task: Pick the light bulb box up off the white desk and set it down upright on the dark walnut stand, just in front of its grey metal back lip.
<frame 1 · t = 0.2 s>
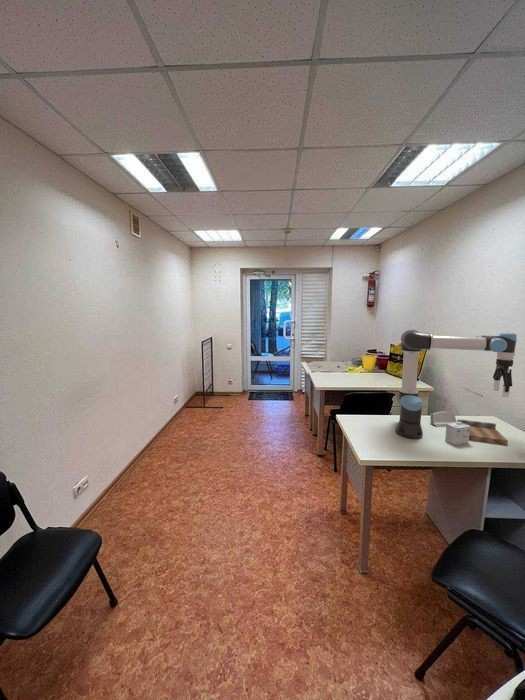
hand: (500, 393, 163), 28 cm above the table, fingers open, 13 cm apart
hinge: (443, 424, 186), on the table
walnut stand: (480, 435, 169), on the table
light bulb box: (456, 442, 161), on the table
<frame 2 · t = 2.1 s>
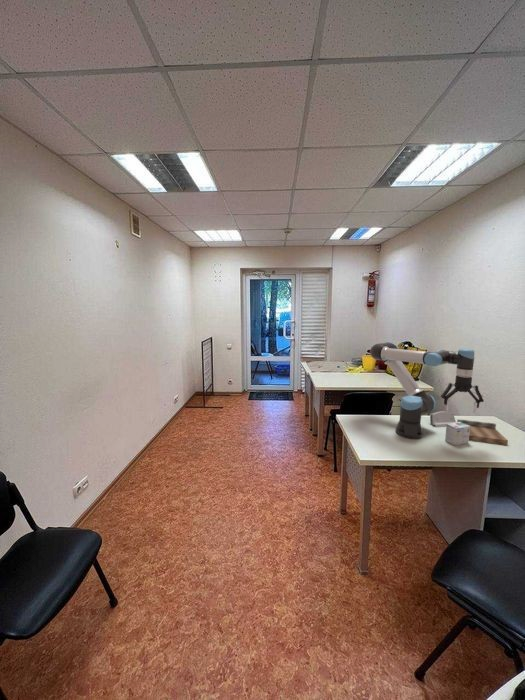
hand: (460, 411, 158), 19 cm above the table, fingers open, 13 cm apart
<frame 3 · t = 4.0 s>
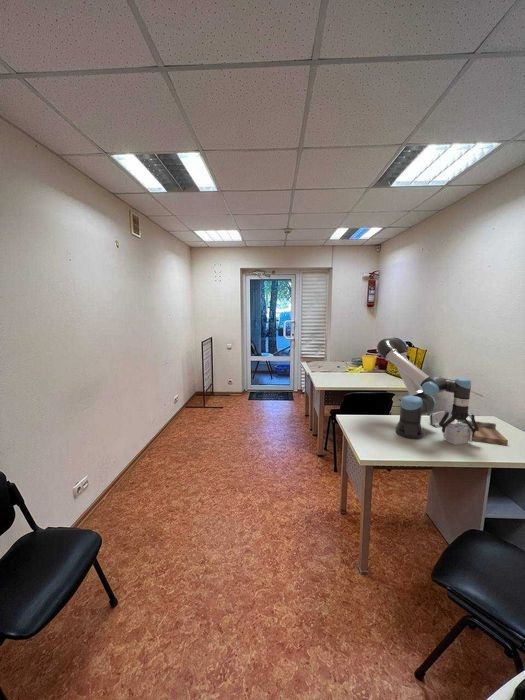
hand: (456, 439, 161), 1 cm above the table, fingers closed on light bulb box, 12 cm apart
light bulb box: (456, 442, 161), on the table, touching gripper
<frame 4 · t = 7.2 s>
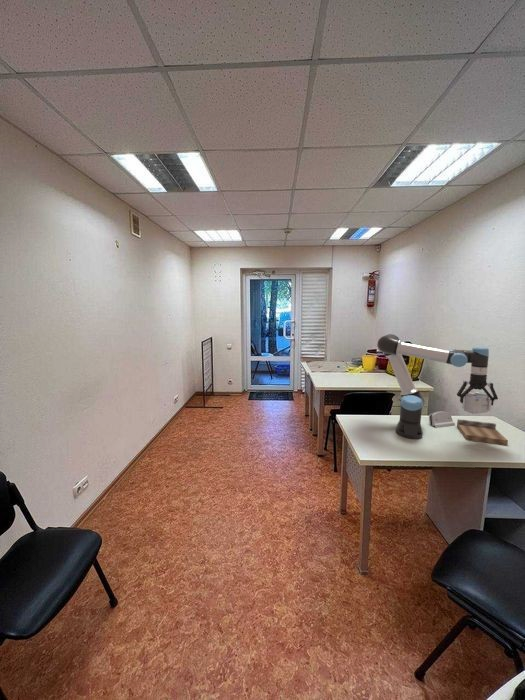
hand: (475, 409, 161), 19 cm above the table, fingers closed on light bulb box, 12 cm apart
light bulb box: (475, 411, 161), point 17 cm above the table, touching gripper
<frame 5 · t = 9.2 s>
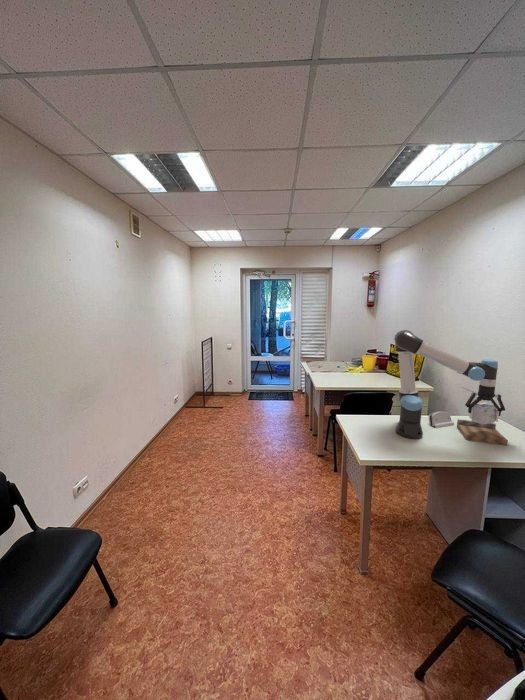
hand: (483, 419, 166), 11 cm above the table, fingers closed on light bulb box, 12 cm apart
light bulb box: (482, 422, 166), point 10 cm above the table, touching gripper
when the fingers open (6 cm above the table, at t = 10.8 s): light bulb box drops 1 cm, resting on walnut stand.
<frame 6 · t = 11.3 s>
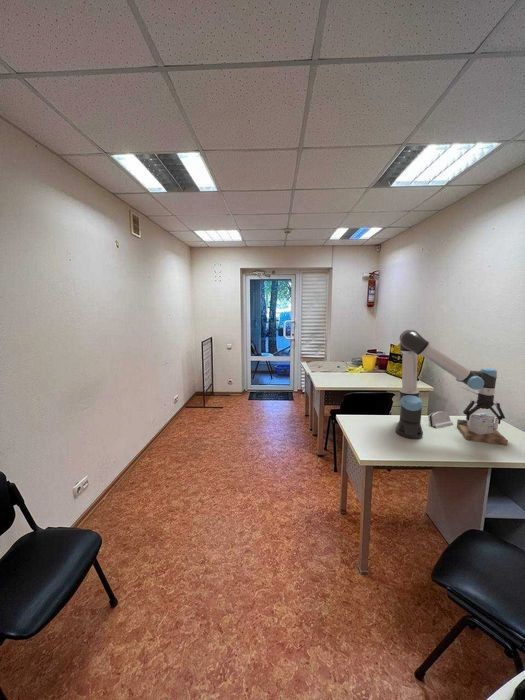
hand: (482, 427, 167), 6 cm above the table, fingers open, 13 cm apart
light bulb box: (481, 432, 167), point 3 cm above the table, touching walnut stand
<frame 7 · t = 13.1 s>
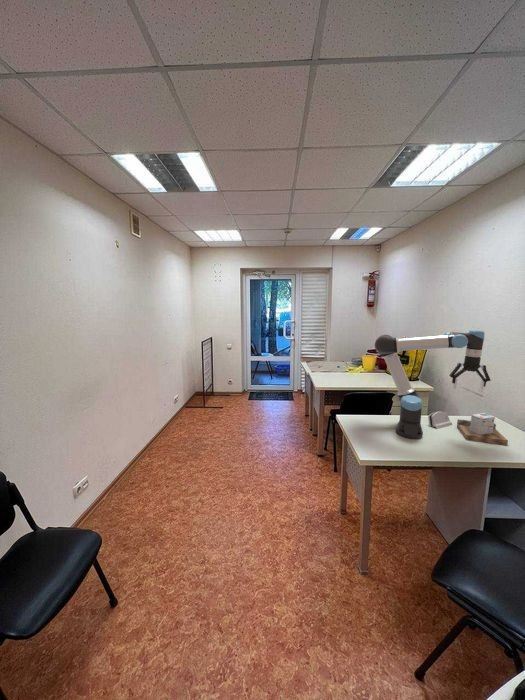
hand: (467, 390, 166), 29 cm above the table, fingers open, 13 cm apart
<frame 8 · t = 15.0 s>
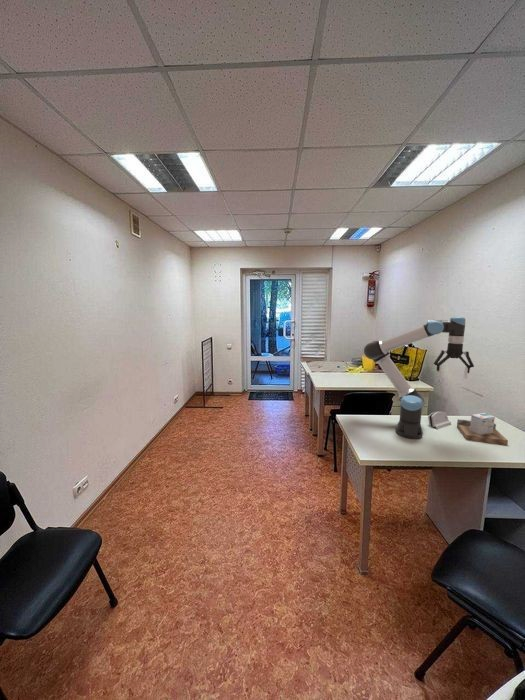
hand: (451, 377, 166), 37 cm above the table, fingers open, 13 cm apart
at the end: light bulb box inside the target area on the walnut stand (0.2 cm from its centre), point 2.8 cm above the walnut stand's base; light bulb box tilted 0°; the gripper is holding nothing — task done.
